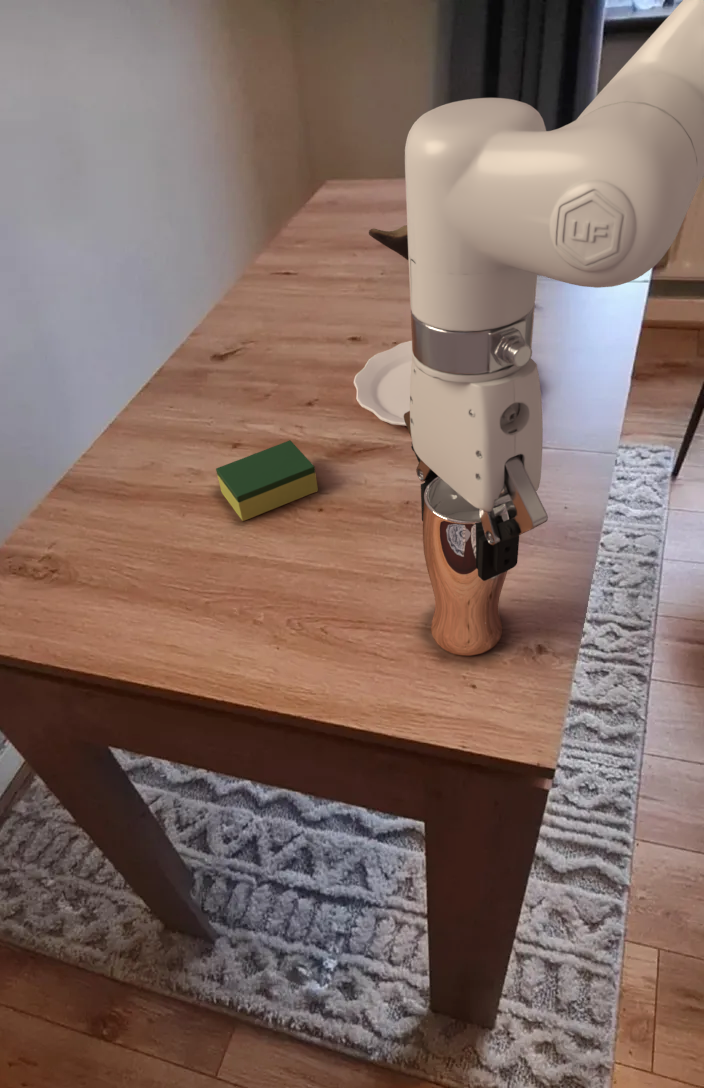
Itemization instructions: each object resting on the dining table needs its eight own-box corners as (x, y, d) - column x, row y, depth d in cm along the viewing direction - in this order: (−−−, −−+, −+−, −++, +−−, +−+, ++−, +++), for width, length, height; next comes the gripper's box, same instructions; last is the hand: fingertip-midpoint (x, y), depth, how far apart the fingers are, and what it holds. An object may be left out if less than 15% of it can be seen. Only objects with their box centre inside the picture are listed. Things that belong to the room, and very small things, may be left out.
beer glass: (418, 653, 68) (412, 519, 58) (434, 597, 73) (431, 462, 62) (501, 666, 66) (509, 528, 56) (512, 606, 71) (522, 469, 60)
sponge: (294, 464, 90) (290, 439, 88) (318, 491, 86) (314, 466, 84) (221, 492, 88) (215, 468, 85) (242, 521, 84) (236, 497, 81)
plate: (496, 454, 87) (497, 441, 86) (326, 422, 95) (325, 410, 94) (549, 360, 99) (550, 348, 98) (395, 339, 108) (394, 327, 106)
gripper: (615, 367, 45) (580, 589, 58) (444, 270, 57) (446, 473, 69) (506, 412, 43) (494, 631, 56) (353, 302, 55) (371, 504, 67)
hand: (467, 542), depth 62 cm, fingers closed on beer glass, 7 cm apart
